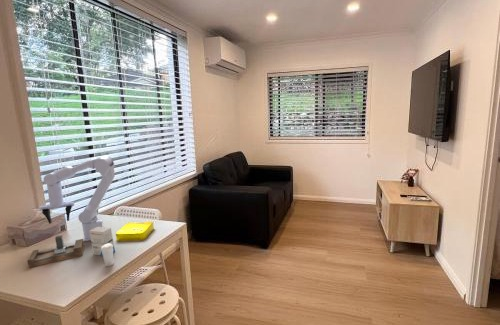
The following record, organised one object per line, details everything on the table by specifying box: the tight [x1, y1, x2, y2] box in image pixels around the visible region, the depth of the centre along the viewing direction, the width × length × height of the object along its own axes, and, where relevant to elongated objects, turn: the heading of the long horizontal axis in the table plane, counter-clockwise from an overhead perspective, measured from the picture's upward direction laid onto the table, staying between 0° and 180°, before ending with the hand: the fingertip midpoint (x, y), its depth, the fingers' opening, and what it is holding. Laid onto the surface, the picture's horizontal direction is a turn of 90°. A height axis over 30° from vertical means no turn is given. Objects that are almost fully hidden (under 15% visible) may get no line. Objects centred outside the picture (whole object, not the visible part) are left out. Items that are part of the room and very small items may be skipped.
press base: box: [27, 238, 85, 268], centre depth 129 cm, size 20×10×4 cm, turn 116°
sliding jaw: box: [54, 235, 68, 255], centre depth 129 cm, size 4×6×7 cm, turn 26°
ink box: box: [89, 226, 116, 256], centre depth 129 cm, size 9×5×12 cm, turn 71°
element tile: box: [115, 221, 154, 242], centre depth 149 cm, size 15×15×5 cm
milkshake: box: [98, 243, 115, 267], centre depth 119 cm, size 4×5×10 cm
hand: (59, 221), depth 145 cm, fingers open, 7 cm apart
